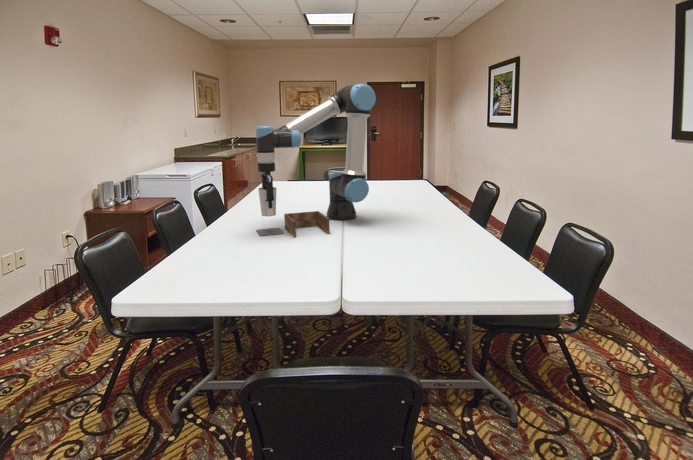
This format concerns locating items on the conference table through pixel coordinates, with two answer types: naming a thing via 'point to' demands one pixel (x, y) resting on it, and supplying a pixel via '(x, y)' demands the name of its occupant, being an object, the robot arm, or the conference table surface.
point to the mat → (269, 231)
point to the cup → (264, 203)
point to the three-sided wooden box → (306, 221)
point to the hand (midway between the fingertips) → (268, 213)
